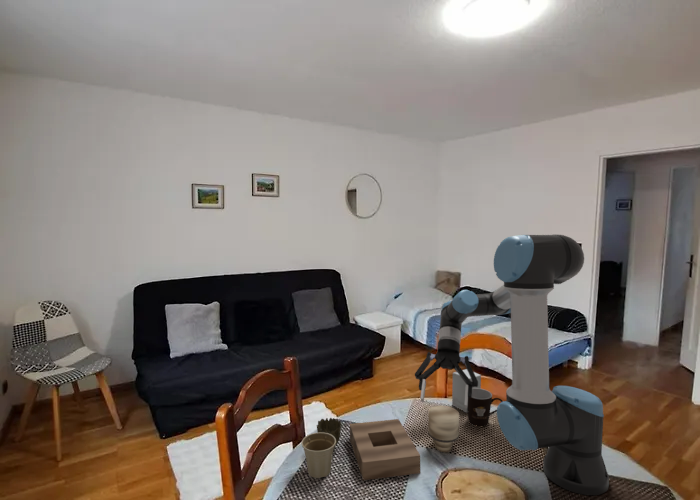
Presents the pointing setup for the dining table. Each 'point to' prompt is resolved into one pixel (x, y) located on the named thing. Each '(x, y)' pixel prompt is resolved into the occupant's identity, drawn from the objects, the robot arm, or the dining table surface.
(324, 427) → the dark green spiky plant
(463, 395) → the supplement box
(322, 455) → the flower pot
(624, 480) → the dining table surface
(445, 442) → the peg
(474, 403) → the coffee mug
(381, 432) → the board
